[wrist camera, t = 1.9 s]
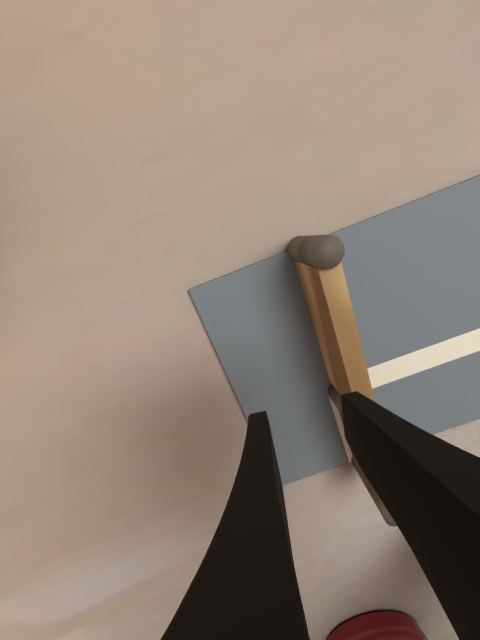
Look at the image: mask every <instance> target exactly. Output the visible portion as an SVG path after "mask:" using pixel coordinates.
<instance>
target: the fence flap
mask: <svg viewBox="0 0 480 640" xmlns="http://www.w3.org/2000/svg"><path fill="white" fill-rule="evenodd" d="M288 254H289V256H290V257H291V258H292V259H293V260H295V261H294V263H295V266H296V270H297V273H298V276H299V280H300V283H301V286H302V289H303V293H304V296H305V299H306V303H307V306H308V309H309V313H310V316H311V319H312V322H313V326H314V329H315V332H316V336H317V339H318V342H319V345H320V349H321V352H322V355H323V359H324V362H325V365H326V369H327V372H328V375H329V378H330V382H331V383H332V384H333V386H334V387H335V389H336V390H337V391H338V393H339V394H340V395H341V394H345V393H350V392H355V391H357V392H359V393H361V394H362V395H364V396H366V397H367V398H369V399H371V400H372V401H374V402H375V399H374V395H373V391H372V386H371V382H370V378H369V374H368V370H367V366H366V362H365V358H364V354H363V349H362V345H361V341H360V337H359V333H358V329H357V325H356V321H355V317H354V312H353V308H352V304H351V300H350V296H349V292H348V288H347V284H346V280H345V275H344V271H343V267H342V263H341V261H342V260H343V257H344V254H345V246H344V244H343V242H342V240H341V239H340V238H339V237H337V236H334V235H315V236H297V237H295V238H293V239H292V240H291V241H290V243H289V245H288Z"/></svg>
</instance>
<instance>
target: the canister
mask: <svg viewBox="0 0 480 640" xmlns="http://www.w3.org/2000/svg"><path fill="white" fill-rule="evenodd" d="M328 640H428V639H427V637H426V635H425V634H424V633H423V632H422V630H421V629H420V627H419V625H418V624H417V622H416V621H415V620H414V619H413V618H412V617H410V616H408V615H406V614H403V613H400V612H394V611H379V612H372V613H367V614H363V615H360V616H357V617H355V618H352V619H350V620H348V621H346V622H345V623H343V624H342V625H340V626H339V627H338V628H336V629H335V630H334V631H333V632H332V633H331V635H330V636H329V638H328Z"/></svg>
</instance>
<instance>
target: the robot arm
mask: <svg viewBox="0 0 480 640" xmlns="http://www.w3.org/2000/svg"><path fill="white" fill-rule="evenodd" d="M341 403H342V414H343V424H344V435H345V439H346V441H347V443H348V445H349V447H350V449H351V451H352V453H353V455H354V457H355V459H356V461H357V463H358V465H359V466H360V468H361V469H362V471H363V473H364V474H365V476H366V477H367V479H368V481H369V482H370V484H371V485H372V487H373V488H374V490H375V492H376V493H377V495H378V496H379V498H380V499H381V501H382V503H383V504H384V506H385V507H386V509H387V510H388V512H389V513H390V515H391V517H392V518H393V520H394V521H395V523H396V524H397V526H398V528H399V529H400V531H401V532H402V534H403V536H404V537H405V539H406V541H407V542H408V544H409V546H410V547H411V549H412V551H413V553H414V555H415V557H416V558H417V560H418V562H419V564H420V566H421V568H422V569H423V571H424V573H425V575H426V577H427V579H428V581H429V582H430V584H431V586H432V588H433V590H434V592H435V594H436V596H437V598H438V599H439V601H440V603H441V605H442V607H443V609H444V611H445V613H446V615H447V617H448V619H449V620H450V622H451V624H452V626H453V628H454V630H455V632H456V634H457V636H458V638H459V640H480V458H479V457H477V456H475V455H473V454H470V453H468V452H466V451H464V450H462V449H460V448H458V447H455V446H453V445H451V444H449V443H447V442H446V441H444V440H442V439H440V438H438V437H436V436H434V435H432V434H430V433H428V432H426V431H424V430H422V429H421V428H419V427H417V426H415V425H413V424H411V423H410V422H408V421H406V420H404V419H403V418H401V417H399V416H397V415H396V414H394V413H392V412H391V411H389V410H387V409H386V408H384V407H382V406H381V405H379V404H377V403H376V402H374V401H372V400H371V399H369V398H367V397H366V396H364V395H362V394H361V393H359V392H357V391H355V392H350V393H345V394H341ZM161 640H310V638H309V634H308V629H307V624H306V620H305V615H304V610H303V606H302V601H301V596H300V592H299V587H298V582H297V578H296V573H295V567H294V562H293V556H292V550H291V543H290V536H289V529H288V522H287V515H286V508H285V502H284V495H283V488H282V481H281V476H280V471H279V467H278V462H277V457H276V453H275V448H274V443H273V438H272V434H271V429H270V424H269V420H268V416H267V412H266V411H262V412H257V413H253V414H250V415H249V416H248V427H247V434H246V440H245V445H244V449H243V453H242V457H241V461H240V465H239V469H238V472H237V475H236V478H235V482H234V485H233V488H232V491H231V494H230V497H229V500H228V502H227V505H226V508H225V510H224V513H223V515H222V518H221V520H220V523H219V525H218V528H217V530H216V532H215V534H214V537H213V539H212V541H211V544H210V546H209V548H208V550H207V553H206V555H205V557H204V559H203V561H202V563H201V565H200V567H199V569H198V571H197V573H196V575H195V577H194V579H193V581H192V583H191V585H190V587H189V589H188V591H187V592H186V594H185V596H184V598H183V600H182V602H181V604H180V606H179V608H178V610H177V612H176V614H175V615H174V617H173V619H172V621H171V623H170V624H169V626H168V628H167V630H166V631H165V633H164V635H163V636H162V638H161Z"/></svg>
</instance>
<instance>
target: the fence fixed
mask: <svg viewBox="0 0 480 640" xmlns="http://www.w3.org/2000/svg"><path fill="white" fill-rule="evenodd" d="M327 392H328V395H329V397H330V398H331V400H332V401H333V403H334V404H335V406H336V407H337V409H338V410H339V413H340V417H341V420H342V423H343V414H342V403H341V395H340V394H339V393H338V391H337V390H336V389H335V387H334V386H333V384H332V383H331V384H330V385H329V387H328V390H327ZM343 426H344V424H343ZM351 453H352V451H351ZM351 462H352V464H353V465H354V467H355V469H356V471H357V472H358V474H359V476H360V478H361V479H362V481H363V483H364V485H365V486H366V488H367V490H368V492H369V493H370V495H371V497H372V499H373V500H374V502H375V504H376V506H377V507H378V509H379V511H380V513H381V514H382V516H383V518H384V520H385V521H386V523H387V524H388V525H390V526H397V524H396V523H395V521H394V520H393V518H392V517H391V515H390V513H389V512H388V510H387V509H386V507H385V506H384V504H383V503H382V501H381V499H380V498H379V496H378V495H377V493H376V492H375V490H374V488H373V487H372V485H371V484H370V482H369V481H368V479H367V477H366V476H365V474H364V473H363V471H362V469H361V468H360V466H359V465H358V463H357V461H356V459H355V457H354V455H353V453H352V458H351Z"/></svg>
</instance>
